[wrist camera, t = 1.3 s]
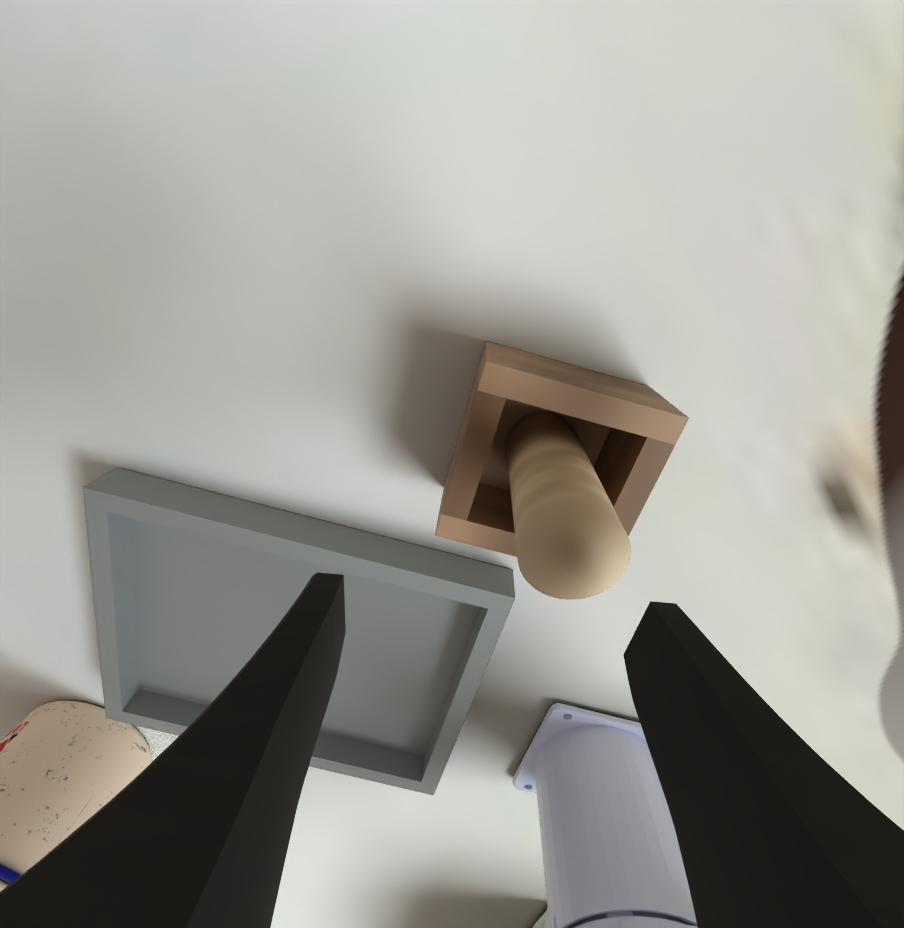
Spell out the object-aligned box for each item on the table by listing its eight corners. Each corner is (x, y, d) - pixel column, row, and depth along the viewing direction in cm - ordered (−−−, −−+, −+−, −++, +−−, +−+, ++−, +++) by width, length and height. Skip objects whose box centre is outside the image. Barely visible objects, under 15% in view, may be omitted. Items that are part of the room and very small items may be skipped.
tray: (512, 569, 23) (515, 598, 21) (436, 760, 30) (433, 795, 28) (118, 467, 22) (83, 487, 20) (131, 687, 29) (105, 718, 27)
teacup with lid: (20, 679, 29) (-246, 918, 19) (161, 716, 30) (-19, 970, 19) (34, 785, 34) (-169, 1022, 24) (154, 815, 35) (9, 1060, 24)
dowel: (587, 422, 19) (649, 524, 12) (562, 483, 20) (604, 610, 13) (518, 403, 19) (538, 494, 12) (497, 466, 20) (503, 584, 13)
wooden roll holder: (649, 387, 19) (689, 417, 15) (585, 525, 22) (605, 579, 18) (486, 341, 18) (486, 361, 15) (443, 488, 21) (434, 535, 18)
